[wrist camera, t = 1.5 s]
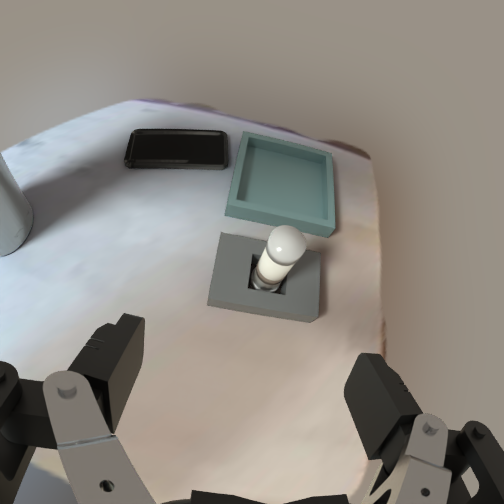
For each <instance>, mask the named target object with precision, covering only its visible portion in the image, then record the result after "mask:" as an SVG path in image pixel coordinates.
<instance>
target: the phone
mask: <svg viewBox="0 0 504 504" xmlns="http://www.w3.org/2000/svg"><path fill="white" fill-rule="evenodd" d="M124 162H125V166H126V167H127V168H131V169H132V168H162V169H205V170H224V169H225V168H227V165H228V140H227V134H226V133H225V132H223V131H216V130H194V129H136V130H134V131H133V132H132V133H131V135H130V139H129V143H128V147H127V151H126V155H125V159H124Z"/></svg>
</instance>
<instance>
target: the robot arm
mask: <svg viewBox="0 0 504 504" xmlns="http://www.w3.org/2000/svg"><path fill="white" fill-rule="evenodd" d="M32 223H33V211H32V208H31V206H30V204H29V203H28V201H27V200H26V198H25V196H24V195H23V193H22V191H21V189H20V188H19V186H18V184H17V182H16V181H15V179H14V177H13V175H12V174H11V172H10V170H9V168H8V166H7V165H6V163H5V161H4V159H3V157H2V155H1V153H0V256H4V255H8V254H10V253H12V252H13V251H15V250H16V249H17V248H18V247H19V246H20V245H21V244H22V243H23V242H24V241H25V239H26V238H27V236H28V234H29V232H30V230H31V227H32ZM144 330H145V319H144V318H143V317H139V316H134V315H130V314H126V313H124V314H123V315H122V316H121V318H120V319H119V321H118V322H117V324H116V325H114V324H110V323H107V324H105V325H103V326H101V327H100V328H98V329H97V330H96V331H95V332H94V334H93V335H92V336H91V339H89V340H88V342H87V343H86V346H84V347H83V349H82V350H81V351H80V353H79V354H78V355H77V357H76V358H75V360H74V361H73V362H72V364H71V365H70V367H69V368H68V370H67V371H58V372H55V373H53V374H51V375H49V376H48V377H47V378H46V379H45V381H34V380H27V379H20V378H19V376H18V372H17V370H16V369H15V367H14V366H12V365H11V364H9V363H7V362H3V361H0V504H13V502H14V499H15V497H16V494H17V491H18V489H19V487H20V484H21V482H22V479H23V477H24V475H25V472H26V470H27V467H28V465H29V463H30V461H31V458H32V456H33V454H34V452H35V449H36V447H41V448H49V449H57V450H58V452H59V455H60V458H61V461H62V464H63V467H64V469H65V472H66V475H67V477H68V480H69V483H70V485H71V487H72V490H73V492H74V495H75V497H76V499H77V502H78V504H156V502H155V501H154V499H153V498H152V496H151V495H150V493H149V492H148V490H147V488H146V487H145V485H144V484H143V482H142V480H141V479H140V477H139V475H138V474H137V472H136V470H135V468H134V467H133V465H132V463H131V461H130V460H129V458H128V456H127V454H126V452H125V450H124V449H123V447H122V445H121V443H120V441H119V439H118V438H117V437H116V435H112V434H114V433H115V430H116V428H117V425H118V423H119V420H120V418H121V415H122V412H123V410H124V407H125V405H126V402H127V400H128V398H129V395H130V393H131V390H132V388H133V385H134V383H135V380H136V378H137V376H138V373H139V371H140V368H141V365H142V361H143V353H144ZM344 398H345V400H346V403H347V405H348V408H349V410H350V413H351V416H352V418H353V421H354V423H355V426H356V428H357V431H358V433H359V436H360V439H361V441H362V444H363V446H364V449H365V452H366V454H367V457H368V460H375V459H382V463H381V465H380V466H379V467H378V469H377V472H376V474H375V476H374V478H373V480H372V482H371V485H370V487H369V489H368V491H367V493H366V495H365V497H364V499H363V501H362V502H361V504H504V451H503V450H502V448H501V447H500V445H499V443H498V442H497V440H496V439H495V437H494V436H493V434H492V433H491V431H490V430H489V429H488V428H487V427H486V426H485V425H484V424H482V423H480V422H478V421H469V422H467V423H466V424H465V426H464V427H463V428H462V430H461V431H455V430H448V429H447V426H446V424H445V423H444V422H443V421H442V420H441V419H440V418H438V417H436V416H434V415H432V414H426V413H425V414H423V412H422V411H421V409H420V407H419V406H418V404H417V403H416V401H415V400H414V398H413V396H412V395H411V393H410V392H408V388H407V387H406V385H404V382H403V381H402V380H401V378H400V376H399V375H398V374H397V373H396V372H395V371H394V370H393V369H391V368H390V367H388V365H387V363H386V362H385V360H384V359H383V357H382V356H381V355H380V354H372V353H361V354H360V355H359V356H358V358H357V360H356V362H355V365H354V367H353V369H352V371H351V373H350V375H349V377H348V379H347V382H346V384H345V387H344ZM111 433H112V434H111ZM470 466H471V468H472V470H473V472H474V474H475V476H476V478H477V480H478V481H479V490H478V492H477V494H476V495H475V496H474V497H473V498H471V496H470V494H469V492H468V490H467V488H466V486H465V484H464V482H463V480H462V478H461V475H463V473H464V472H465V471H466V470H467V469H468V468H469V467H470ZM162 504H265V503H261V502H257V501H253V500H249V499H245V498H242V497H238V496H235V495H228V494H218V493H210V492H203V491H196V490H192V493H191V498H190V499H182V500H175V501H169V502H165V503H162ZM285 504H349V502H348V498H347V495H346V494H342V495H331V496H316V497H309V498H306V499H302V500H298V501H293V502H289V503H285Z"/></svg>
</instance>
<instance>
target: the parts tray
mask: <svg viewBox="0 0 504 504" xmlns="http://www.w3.org/2000/svg"><path fill="white" fill-rule="evenodd" d="M225 216H229V217H234V218H238V219H243V220H248V221H253V222H258V223H262V224H267V225H272V226H277V227H278V226H282V225H289V226H292V227H295V228H297V229H298V230H299V231H300V232H304V233H309V234H313V235H318V236H322V237H326V238H328V237H329V236H330V234H331V233H332V232H333V231H334V229H335V203H334V181H333V164H332V153H328V152H325V151H321V150H318V149H314V148H311V147H307V146H303V145H299V144H296V143H292V142H288V141H284V140H280V139H276V138H271V137H267V136H263V135H258V134H254V133H249V132H244V131H243V134H242V138H241V143H240V147H239V151H238V156H237V160H236V165H235V169H234V174H233V178H232V183H231V187H230V192H229V196H228V201H227V206H226V211H225Z"/></svg>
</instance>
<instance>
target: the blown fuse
mask: <svg viewBox="0 0 504 504" xmlns="http://www.w3.org/2000/svg"><path fill="white" fill-rule="evenodd" d="M305 250H306V240H305V237H304V235H303V234H302V233H301V232H300V231H299V230H298V229H297V228H295V227H292V226H289V225H282V226H278V227H276V228H275V229H274V230H273V231H272V232H271V234H270V236H269V239H268V241H267V243H266V247H265V249H264V251H263V254H262V256H261V258H260V259H259V261H258V263H257V266H256V268H255V269H254V270H253V272H252V274H251V276H250V281H249V282H250V287H251V289H254V290H259V291H265V292H270V293H274V292H275V291H276V290H277V288H278V287H279V286H280V284H281V282H282V281H283V279H284V278H285V277H286V275H287V273H288V272H289V271H290V269H291V268H292V267H293V265H294V264H295V263H296V262H297V261H298V260H299V259H300V257H301V256H302V255H303V253H304V252H305Z"/></svg>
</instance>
